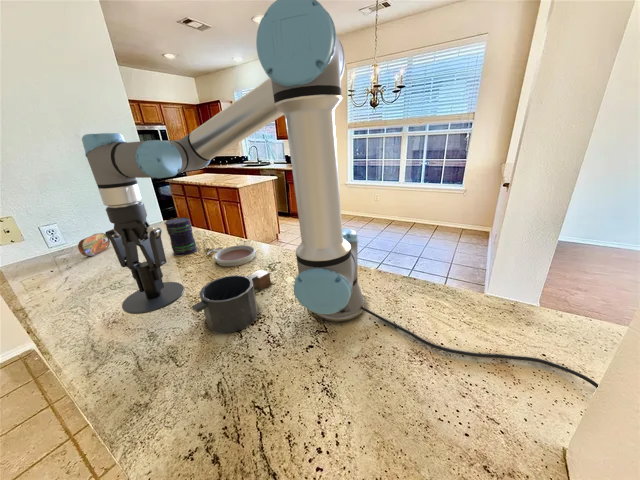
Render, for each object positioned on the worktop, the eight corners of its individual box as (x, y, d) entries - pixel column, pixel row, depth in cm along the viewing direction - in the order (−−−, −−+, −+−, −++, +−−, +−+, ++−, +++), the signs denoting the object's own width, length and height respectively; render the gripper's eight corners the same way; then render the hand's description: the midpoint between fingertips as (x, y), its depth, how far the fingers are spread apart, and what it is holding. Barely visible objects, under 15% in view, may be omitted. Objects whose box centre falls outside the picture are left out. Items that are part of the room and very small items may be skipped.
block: (271, 284, 90) (269, 272, 88) (261, 290, 86) (259, 278, 85) (262, 280, 92) (260, 269, 91) (252, 286, 89) (250, 274, 87)
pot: (274, 307, 77) (270, 278, 74) (217, 347, 63) (209, 314, 60) (244, 293, 85) (239, 267, 81) (188, 326, 71) (179, 296, 67)
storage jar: (182, 247, 127) (174, 217, 121) (201, 247, 125) (194, 217, 120) (168, 255, 117) (159, 224, 112) (188, 256, 116) (180, 223, 111)
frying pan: (220, 239, 127) (263, 247, 113) (222, 245, 128) (264, 253, 114) (188, 252, 114) (232, 263, 99) (190, 258, 115) (234, 270, 100)
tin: (87, 258, 119) (80, 241, 116) (80, 259, 119) (73, 241, 116) (112, 246, 133) (106, 230, 130) (106, 246, 134) (100, 230, 130)
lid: (195, 294, 73) (186, 259, 69) (137, 323, 62) (122, 284, 58) (169, 280, 81) (160, 248, 77) (114, 304, 70) (100, 268, 67)
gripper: (167, 199, 65) (189, 282, 73) (106, 201, 67) (134, 281, 75) (145, 207, 58) (172, 298, 66) (78, 208, 60) (112, 296, 68)
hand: (152, 289), depth 71 cm, fingers closed on lid, 4 cm apart
